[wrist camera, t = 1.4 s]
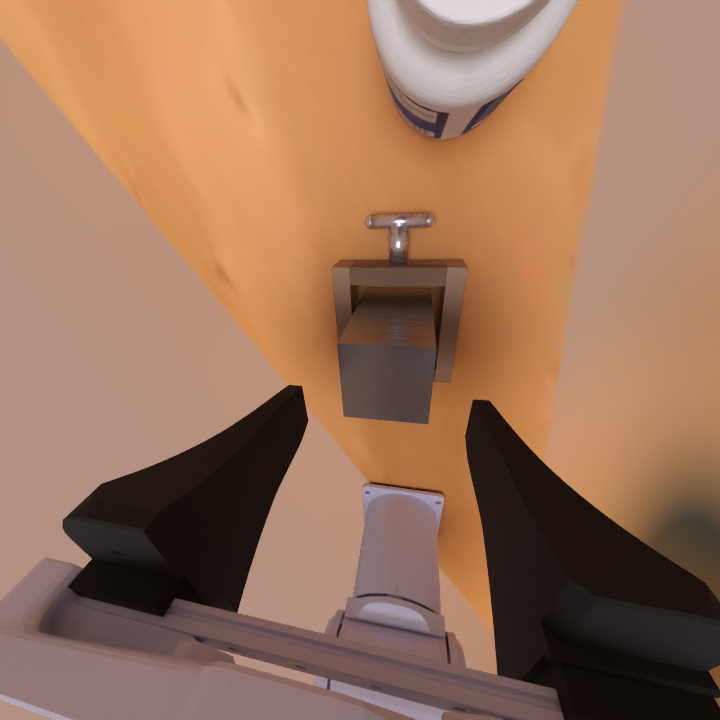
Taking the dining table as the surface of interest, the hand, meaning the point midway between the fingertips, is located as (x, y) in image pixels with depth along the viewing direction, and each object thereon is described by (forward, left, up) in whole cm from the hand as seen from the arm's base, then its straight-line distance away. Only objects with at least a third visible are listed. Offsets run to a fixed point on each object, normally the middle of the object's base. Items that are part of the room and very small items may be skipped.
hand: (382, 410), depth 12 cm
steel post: (+1, 0, -9) cm, 9 cm away
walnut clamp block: (+2, 0, -9) cm, 9 cm away
